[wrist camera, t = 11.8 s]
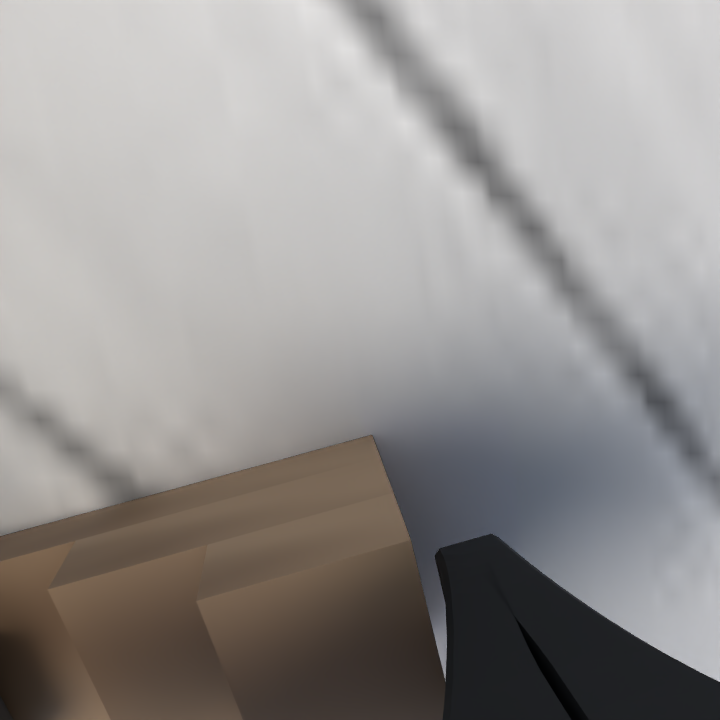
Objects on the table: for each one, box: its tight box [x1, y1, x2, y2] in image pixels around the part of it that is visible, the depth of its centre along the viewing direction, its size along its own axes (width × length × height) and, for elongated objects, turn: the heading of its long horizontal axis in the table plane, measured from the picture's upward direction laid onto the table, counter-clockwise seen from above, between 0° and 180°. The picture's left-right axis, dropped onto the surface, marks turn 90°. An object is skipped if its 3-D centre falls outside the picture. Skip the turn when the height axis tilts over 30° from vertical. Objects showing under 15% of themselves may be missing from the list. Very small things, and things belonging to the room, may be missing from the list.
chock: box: [0, 435, 446, 720], centre depth 10 cm, size 5×8×4 cm, turn 103°
